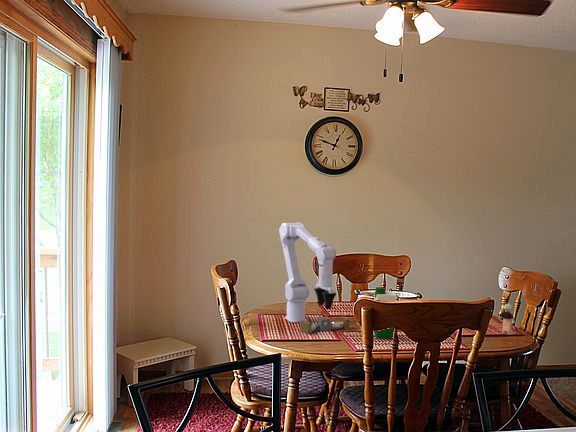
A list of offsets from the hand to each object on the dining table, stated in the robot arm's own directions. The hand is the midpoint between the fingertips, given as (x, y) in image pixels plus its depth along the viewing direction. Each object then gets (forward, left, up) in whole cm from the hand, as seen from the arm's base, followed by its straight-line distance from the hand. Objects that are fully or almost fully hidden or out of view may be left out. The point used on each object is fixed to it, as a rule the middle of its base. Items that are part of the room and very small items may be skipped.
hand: (324, 306), depth 245 cm
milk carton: (+16, +20, -10) cm, 28 cm away
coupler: (0, 0, -10) cm, 10 cm away
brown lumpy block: (+1, -6, -10) cm, 12 cm away
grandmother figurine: (+24, +74, -10) cm, 78 cm away
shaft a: (0, +7, -10) cm, 12 cm away
